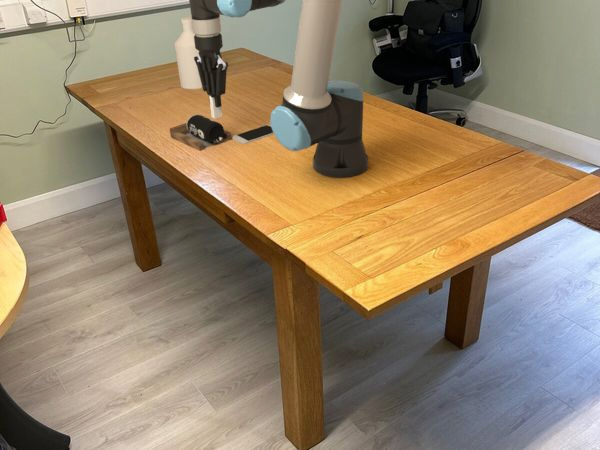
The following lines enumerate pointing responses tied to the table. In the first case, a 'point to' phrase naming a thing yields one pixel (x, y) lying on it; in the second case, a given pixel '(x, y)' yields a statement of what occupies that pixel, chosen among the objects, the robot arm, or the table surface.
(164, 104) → the table surface
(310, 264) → the table surface
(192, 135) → the grey rubber pad
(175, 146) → the table surface
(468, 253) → the table surface
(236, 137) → the smartphone
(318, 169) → the robot arm
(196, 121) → the beverage can
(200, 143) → the walnut U-rest
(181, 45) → the bottle
